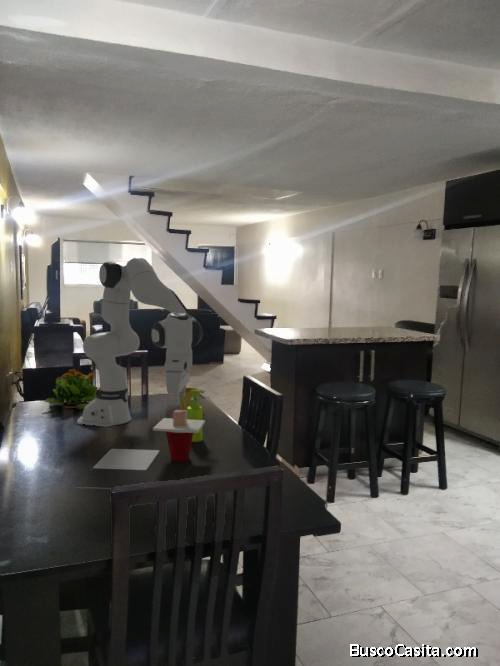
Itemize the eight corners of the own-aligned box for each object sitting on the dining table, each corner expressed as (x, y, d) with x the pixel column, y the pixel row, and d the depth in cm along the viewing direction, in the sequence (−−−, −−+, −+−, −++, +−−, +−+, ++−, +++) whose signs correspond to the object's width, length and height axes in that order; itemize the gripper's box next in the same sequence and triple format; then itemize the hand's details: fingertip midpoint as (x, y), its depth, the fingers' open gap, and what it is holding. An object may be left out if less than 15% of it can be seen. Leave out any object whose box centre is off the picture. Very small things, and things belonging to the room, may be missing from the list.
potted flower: (48, 416, 224) (46, 378, 221) (39, 404, 244) (37, 368, 241) (104, 408, 237) (103, 372, 235) (91, 397, 257) (90, 363, 254)
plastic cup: (201, 457, 177) (201, 424, 175) (185, 468, 167) (184, 433, 165) (175, 452, 181) (175, 420, 180) (158, 462, 172) (157, 428, 170)
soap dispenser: (202, 443, 190) (202, 392, 188) (185, 442, 192) (184, 391, 189) (207, 438, 196) (206, 388, 193) (190, 437, 197) (189, 387, 195)
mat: (92, 469, 165) (92, 468, 165) (111, 450, 183) (111, 448, 183) (146, 471, 164) (146, 470, 164) (159, 451, 182) (159, 450, 182)
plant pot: (194, 406, 242) (194, 386, 241) (203, 411, 233) (203, 390, 232) (174, 409, 237) (173, 388, 236) (182, 414, 228) (182, 393, 227)
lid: (152, 430, 166) (153, 414, 165) (163, 420, 181) (164, 405, 180) (197, 433, 165) (198, 417, 164) (205, 422, 180) (205, 407, 179)
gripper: (176, 355, 180) (176, 392, 182) (162, 366, 160) (163, 408, 162) (194, 355, 180) (194, 393, 182) (182, 367, 159) (182, 409, 161)
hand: (179, 400), depth 172 cm, fingers open, 8 cm apart
